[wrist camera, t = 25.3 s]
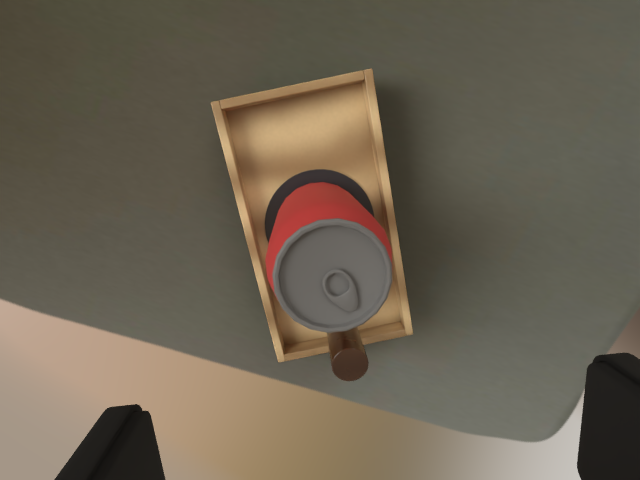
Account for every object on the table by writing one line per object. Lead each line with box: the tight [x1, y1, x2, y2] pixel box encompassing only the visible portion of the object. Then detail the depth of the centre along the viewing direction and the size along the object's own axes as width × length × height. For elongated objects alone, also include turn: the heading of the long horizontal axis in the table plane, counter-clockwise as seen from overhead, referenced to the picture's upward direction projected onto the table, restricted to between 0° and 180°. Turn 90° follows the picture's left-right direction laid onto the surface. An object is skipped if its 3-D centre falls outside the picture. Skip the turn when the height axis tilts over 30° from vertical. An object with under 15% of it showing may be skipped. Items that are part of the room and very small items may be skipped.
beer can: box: [265, 182, 392, 333], centre depth 23 cm, size 7×7×12 cm
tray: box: [211, 69, 413, 381], centre depth 26 cm, size 20×11×8 cm, turn 11°
